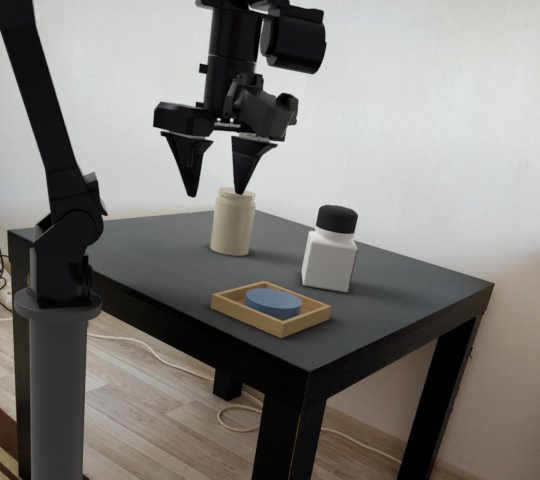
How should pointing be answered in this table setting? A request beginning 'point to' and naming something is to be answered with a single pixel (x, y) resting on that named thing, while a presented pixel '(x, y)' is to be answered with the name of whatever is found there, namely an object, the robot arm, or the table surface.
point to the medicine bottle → (331, 249)
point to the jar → (232, 222)
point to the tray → (234, 307)
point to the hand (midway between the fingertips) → (216, 195)
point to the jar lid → (273, 303)
